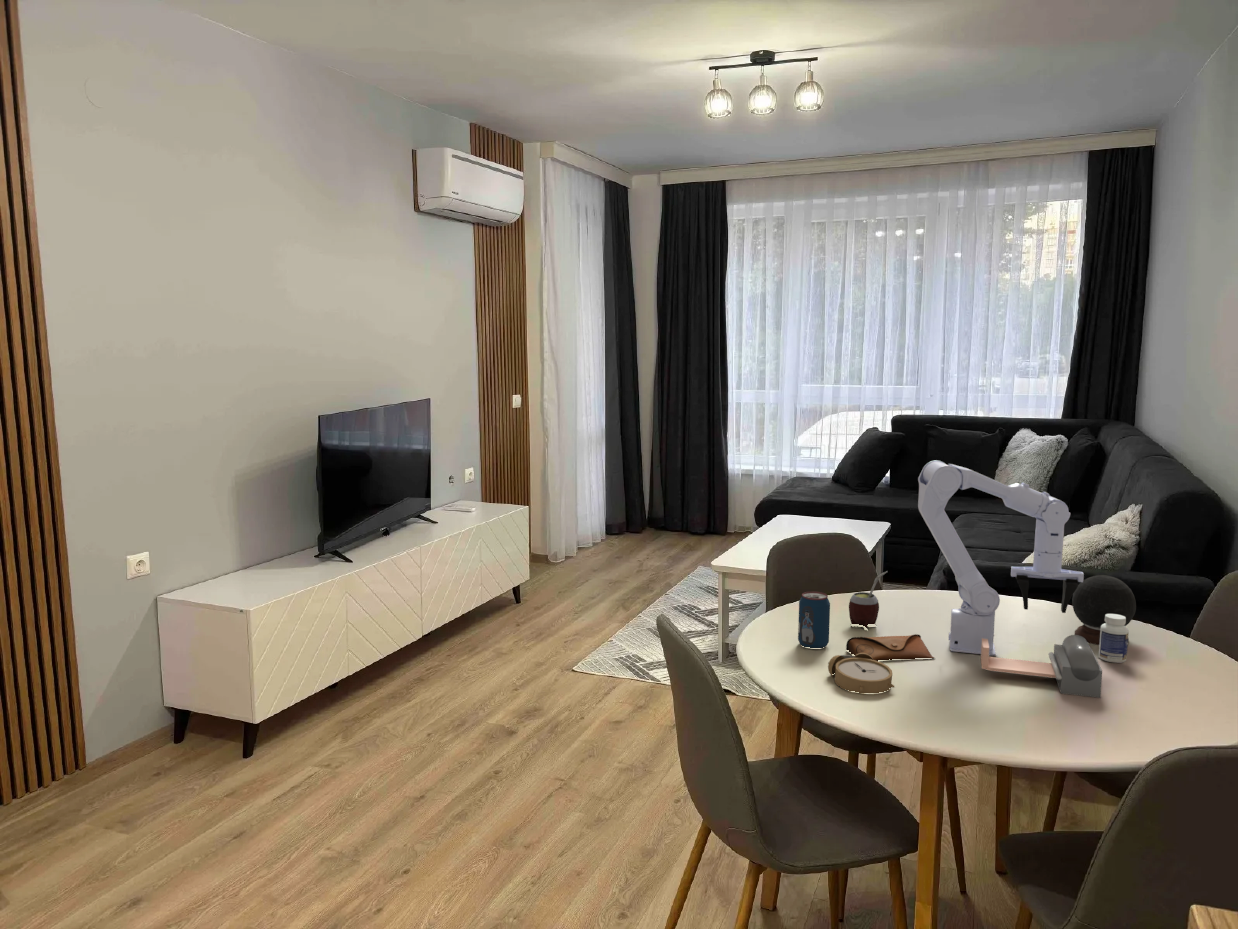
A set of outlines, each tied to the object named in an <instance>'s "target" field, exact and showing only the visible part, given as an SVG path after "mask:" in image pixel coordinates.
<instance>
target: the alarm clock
mask: <svg viewBox="0 0 1238 929" xmlns="http://www.w3.org/2000/svg"><path fill="white" fill-rule="evenodd" d="M827 669H828V670H827V671H828V672H829V674H830V675H831V677H833V678H834V683H835V684H836V686H838V687H839V686H840V687H839V688H841V689H842V688H843V689H842V690H844V689H846V690H849V691H855V692H859V693H879V692H884V691H887V690H889V688H891V689H892V688H896V687H895V685H894V684H893V683H892V682H893V680H892V679H893V670H892V669H891V668H890V666H888V665H886V664H885V663H883V662H878V661H876V660H873V658H872V657H871V656H870V655H868V654H866V653H859V654H856V655H855V656H852V655H850V654H848V655H847V654H836V655H834V656H833V657H831V659H830V660H829V662H828V663H827ZM834 673H835V675H834V676H833V675H832V674H834ZM846 690H845V691H846ZM849 691H848V692H849ZM889 691H890V690H889ZM887 692H888V691H887Z"/></svg>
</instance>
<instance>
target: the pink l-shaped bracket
mask: <svg viewBox="0 0 1238 929" xmlns="http://www.w3.org/2000/svg"><path fill="white" fill-rule="evenodd" d="M980 663H981V669H982V670H987V671H991V672H999V673H1010V674H1018V675H1027V676H1036V677H1045V678H1047V677H1048V678H1054V679H1056V675H1055V672H1054V669H1053V667H1052V664H1051V662H1042V661H1034V660H1023V659H1016V658H1007V657H1006V658H1004V657H997V656H996V657H995V656H990V655H989V643H988V639H983V638H982V644H981V654H980Z"/></svg>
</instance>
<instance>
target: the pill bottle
mask: <svg viewBox="0 0 1238 929" xmlns="http://www.w3.org/2000/svg"><path fill="white" fill-rule="evenodd" d="M1105 622H1106V623H1104V624H1102V625H1101V628H1100V643H1099V645H1098V658H1100V659H1101V660H1102V661H1105V662H1108V663H1109V662H1110V663H1115V664H1117V663H1118V664H1120V663H1126V662H1127V655H1128V647H1129V646H1128V644H1129V641H1128V639H1129V632H1130V631H1129V629H1128V627H1127V625H1126V626H1124V625H1125V623H1126V617H1124V616H1122V615H1118V614H1106V615H1105Z"/></svg>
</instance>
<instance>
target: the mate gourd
mask: <svg viewBox="0 0 1238 929" xmlns="http://www.w3.org/2000/svg"><path fill="white" fill-rule="evenodd" d="M887 573H888V570H886V571H884V572H882V573H880V574H879V575H877V576H876V577H875V578H874V581H873V585H872V587H871V588H870V592H863V591H861V592H860V591H859V592H855V593H853V594H852V596H851V597H850V598H849V602H848V612H849V619H850V623H851V624H859V625H863V626H865V627H866V628H868V627H867V625H868V624H875V625H876V622H877V619H878V617H879V616H878V615H879V611H880V603H879V599H878V597H877V596H876V595H875V594H874V593H873V592H874V590H875V587H876V585H877V584H878V582H879V579H880V578H882V576H884V575H885V574H887ZM851 624H850V625H851Z"/></svg>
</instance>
